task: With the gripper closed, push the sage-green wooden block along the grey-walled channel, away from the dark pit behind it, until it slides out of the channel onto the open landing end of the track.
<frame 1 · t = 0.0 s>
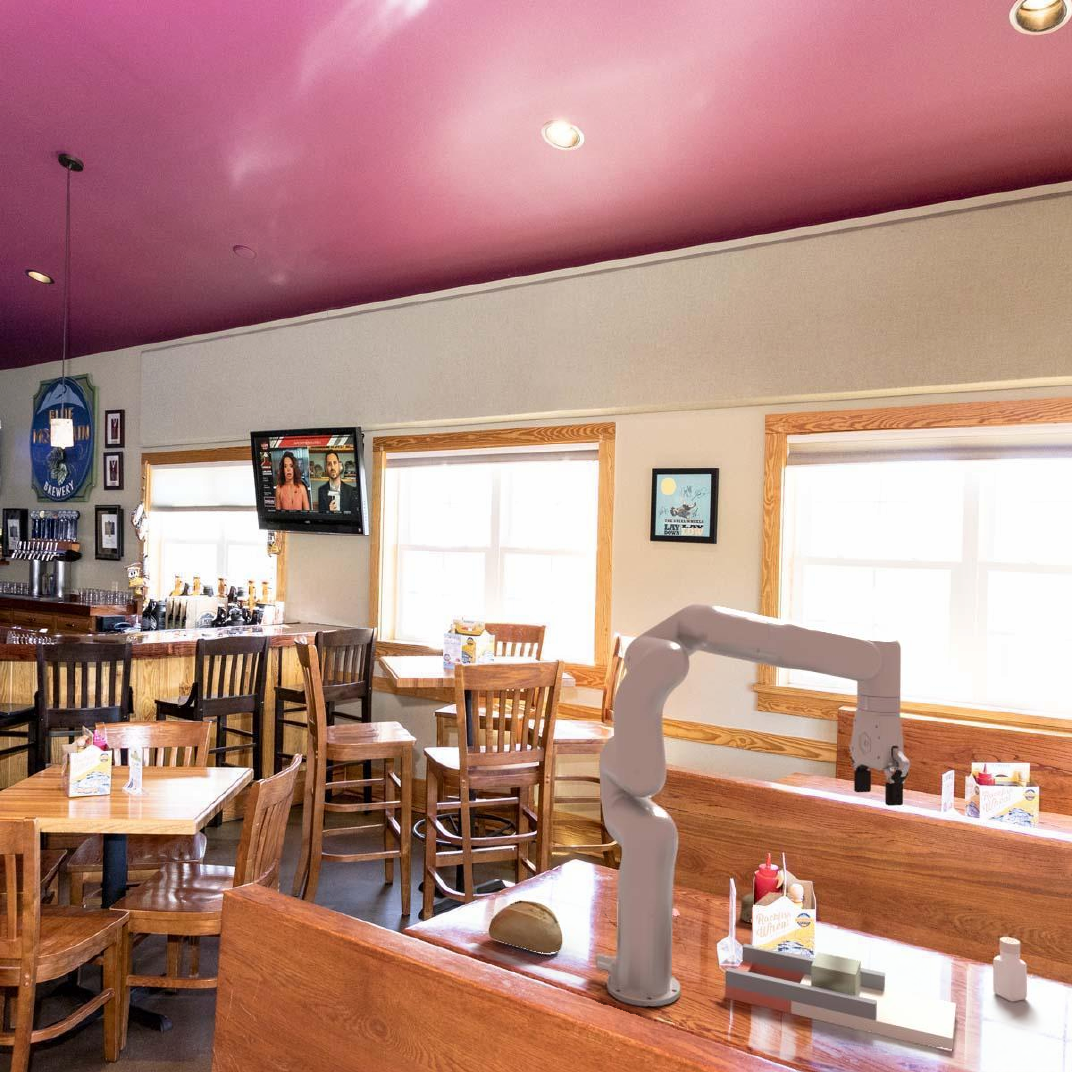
hand: (877, 798, 166), 31 cm above the table, tool pointing down, fingers open, 9 cm apart
stone block: (769, 924, 186), on the table
sage block: (835, 993, 151), point 2 cm above the table, touching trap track
salt shaker: (1009, 997, 156), on the table
bread roll: (525, 948, 172), on the table
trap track: (823, 1002, 151), on the table
cloth: (648, 925, 186), on the table
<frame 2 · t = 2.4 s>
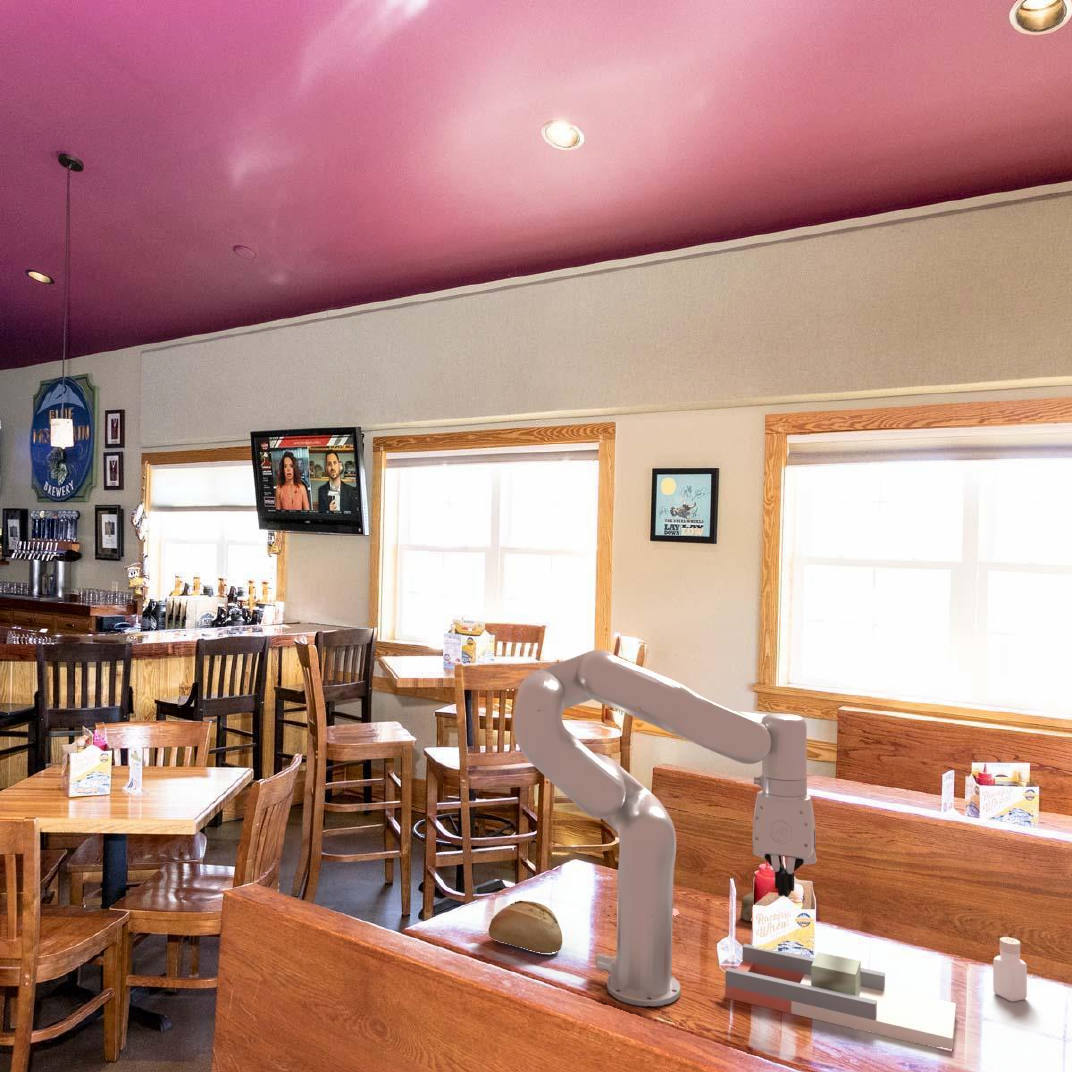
hand: (784, 893, 155), 17 cm above the table, tool pointing down, fingers closed
nothing on the table moved.
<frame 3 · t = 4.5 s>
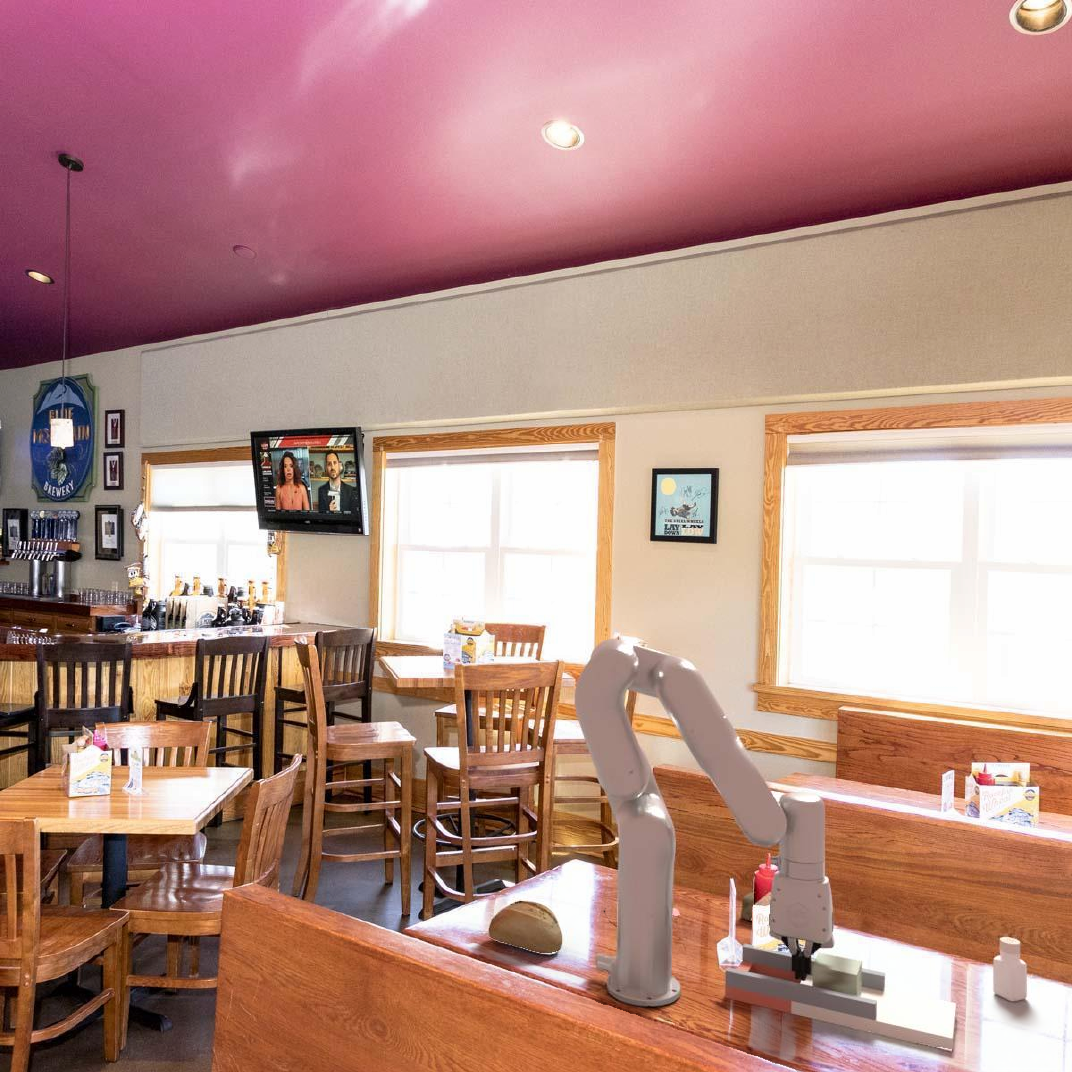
hand: (801, 976, 153), 3 cm above the table, tool pointing down, fingers closed
sage block: (837, 993, 151), point 2 cm above the table, touching gripper, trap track
everything else where it was.
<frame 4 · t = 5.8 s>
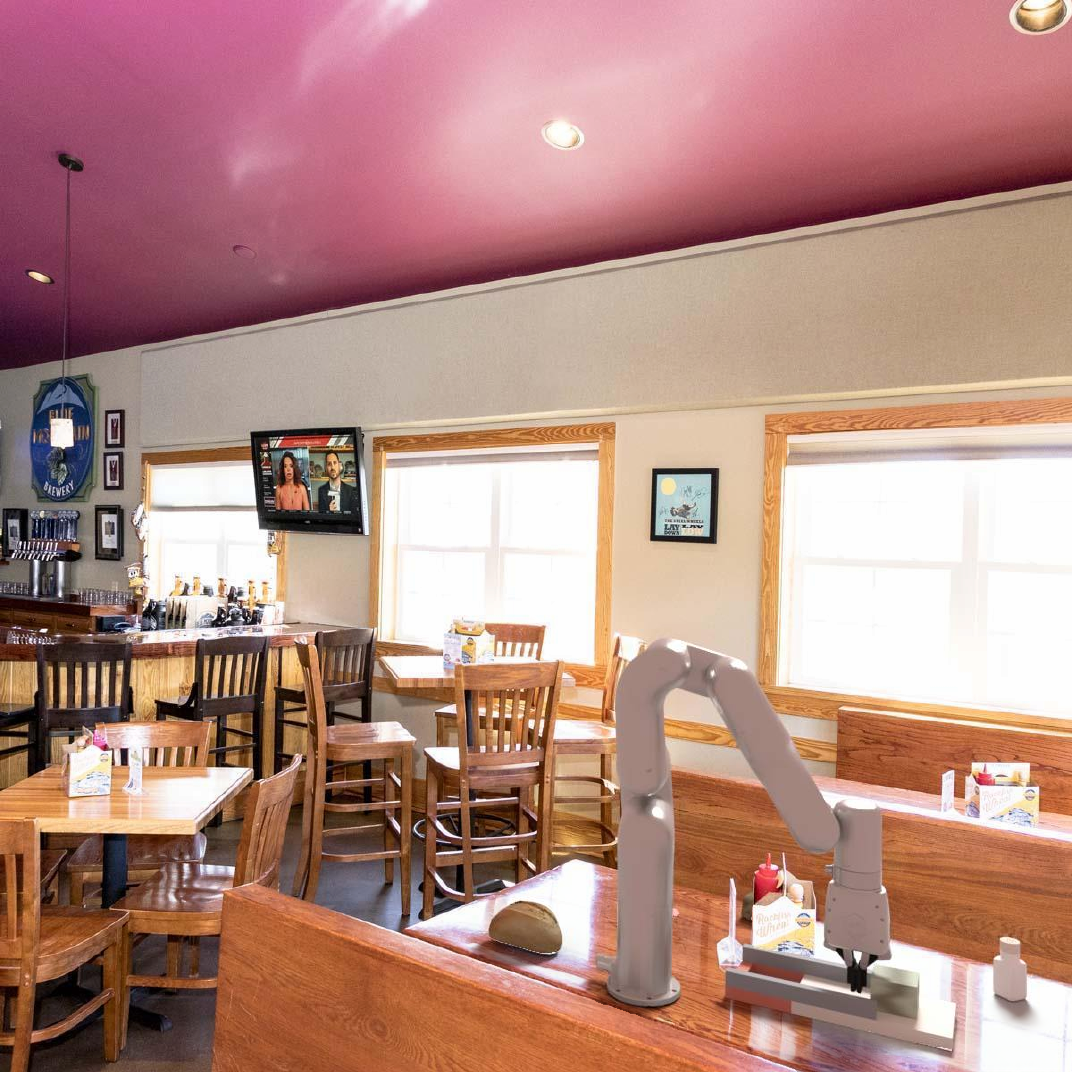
hand: (856, 989, 149), 3 cm above the table, tool pointing down, fingers closed
sage block: (894, 1006, 147), point 2 cm above the table, touching gripper, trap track
everything else where it was.
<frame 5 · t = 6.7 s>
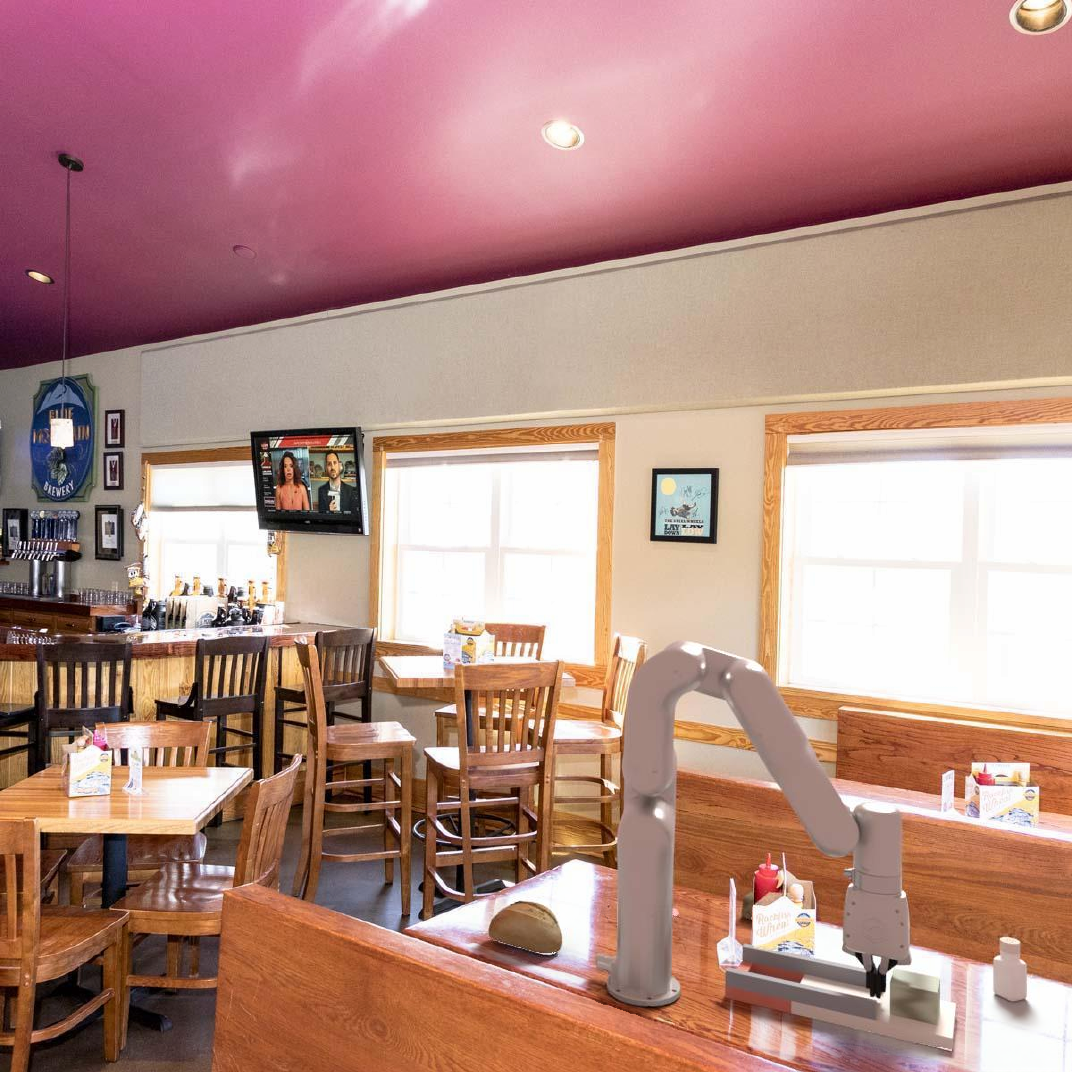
hand: (876, 994, 148), 3 cm above the table, tool pointing down, fingers closed
sage block: (914, 1011, 145), point 2 cm above the table, touching gripper, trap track
everything else where it was.
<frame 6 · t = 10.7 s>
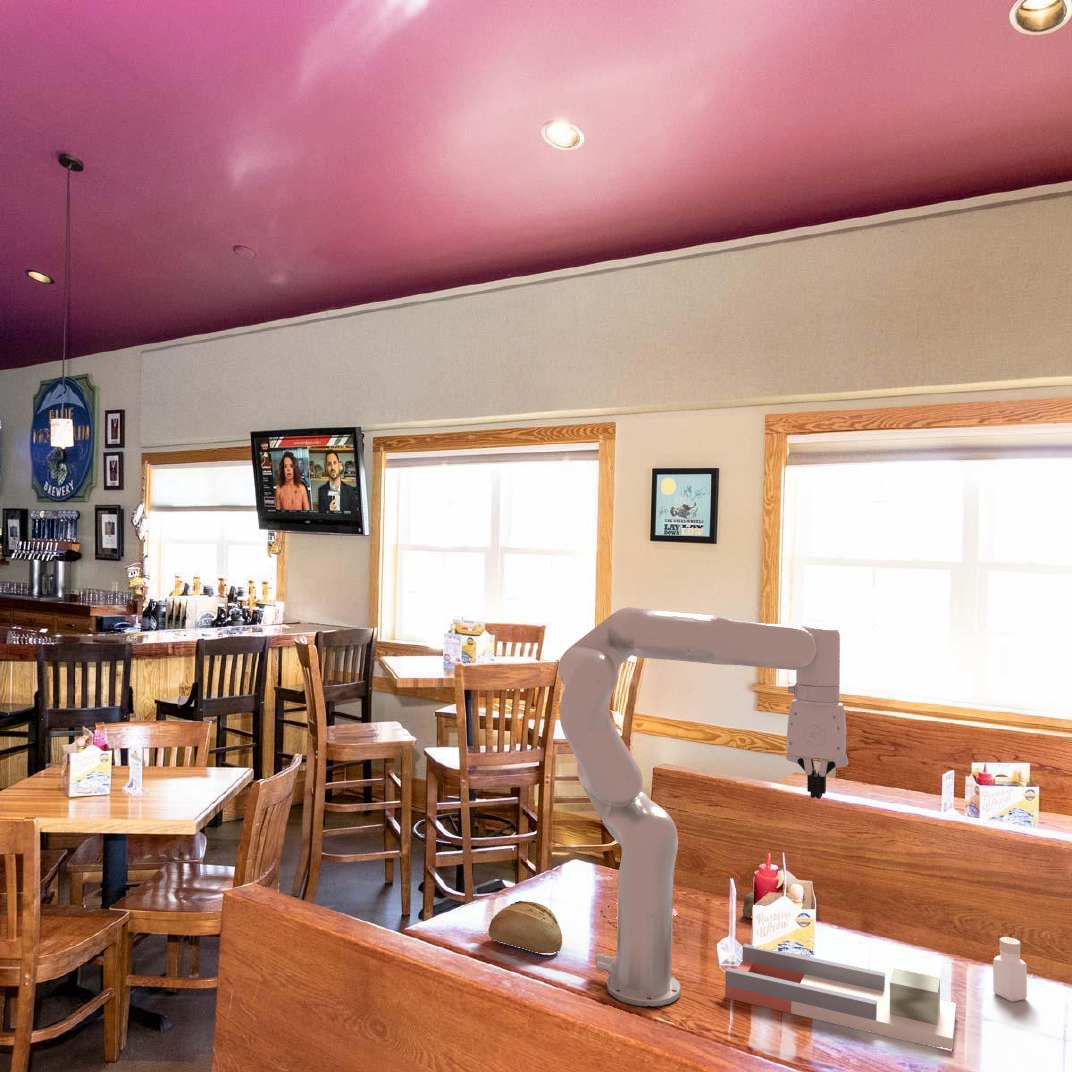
hand: (816, 796, 162), 32 cm above the table, tool pointing down, fingers closed
sage block: (914, 1011, 145), point 2 cm above the table, touching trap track
at the end: sage block inside the target area (1.7 cm from its centre), point 2.0 cm above the table; sage block tilted 0°; sage block touching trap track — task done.
